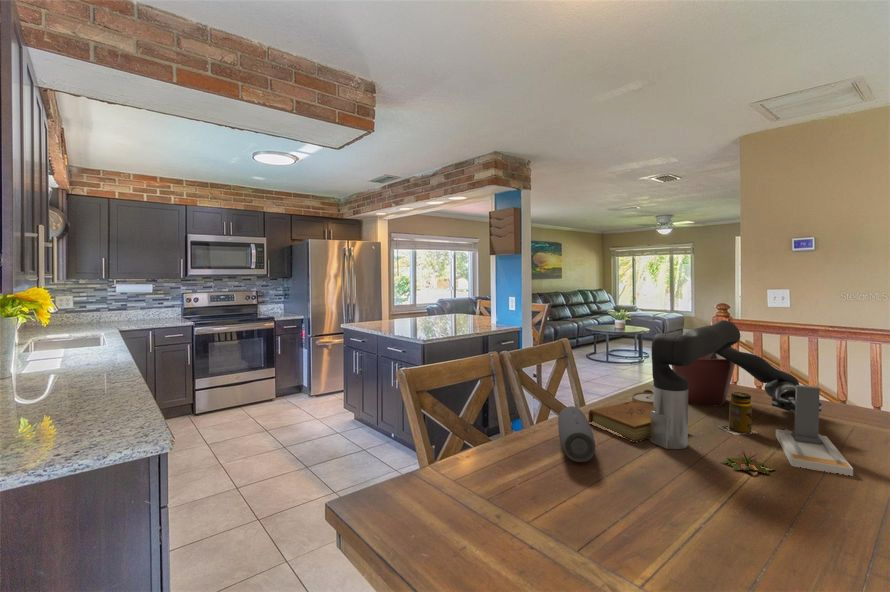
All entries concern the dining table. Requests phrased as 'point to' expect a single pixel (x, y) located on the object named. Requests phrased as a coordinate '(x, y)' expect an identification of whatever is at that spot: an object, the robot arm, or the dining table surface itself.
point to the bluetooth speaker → (576, 434)
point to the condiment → (740, 414)
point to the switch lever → (806, 414)
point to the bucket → (707, 379)
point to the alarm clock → (644, 396)
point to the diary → (625, 419)
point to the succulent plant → (747, 463)
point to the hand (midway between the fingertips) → (802, 412)
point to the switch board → (813, 454)
